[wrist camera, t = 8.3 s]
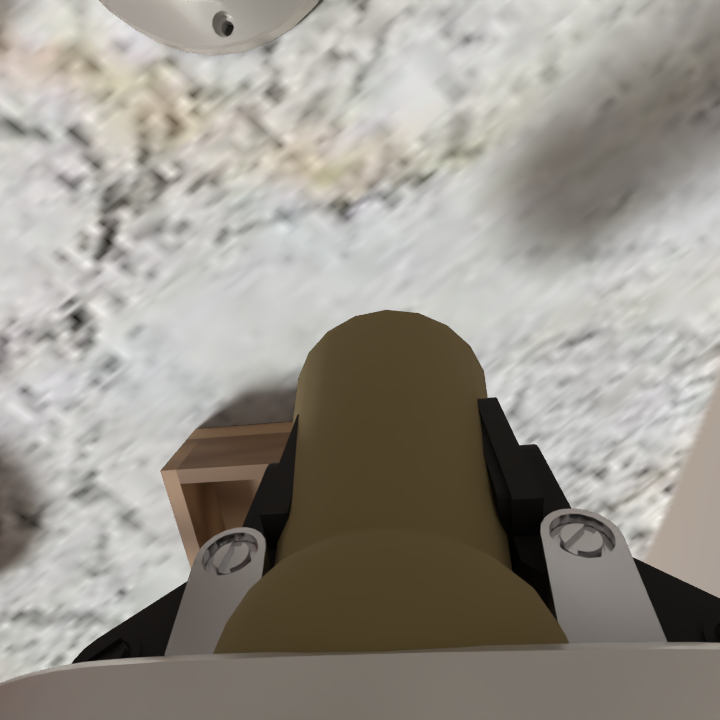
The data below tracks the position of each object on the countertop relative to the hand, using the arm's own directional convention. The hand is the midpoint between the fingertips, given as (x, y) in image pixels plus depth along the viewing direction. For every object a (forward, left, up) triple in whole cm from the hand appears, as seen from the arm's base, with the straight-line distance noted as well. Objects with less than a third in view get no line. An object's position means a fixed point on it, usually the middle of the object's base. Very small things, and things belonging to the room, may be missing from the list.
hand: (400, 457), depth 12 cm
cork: (0, 0, -3) cm, 3 cm away
